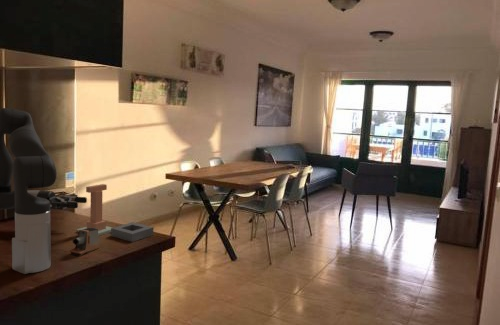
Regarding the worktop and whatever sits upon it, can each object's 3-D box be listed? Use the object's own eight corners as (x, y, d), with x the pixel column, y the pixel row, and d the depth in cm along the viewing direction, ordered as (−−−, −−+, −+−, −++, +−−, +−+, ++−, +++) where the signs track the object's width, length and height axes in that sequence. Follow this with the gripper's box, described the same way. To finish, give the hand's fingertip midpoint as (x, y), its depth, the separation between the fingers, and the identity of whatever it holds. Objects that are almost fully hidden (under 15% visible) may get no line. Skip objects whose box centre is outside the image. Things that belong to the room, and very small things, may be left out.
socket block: (132, 241, 150) (132, 233, 150) (110, 236, 155) (111, 228, 155) (153, 234, 160) (153, 227, 159) (132, 229, 165) (132, 222, 164)
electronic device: (69, 254, 134) (69, 232, 133) (89, 246, 143) (89, 225, 143) (80, 257, 133) (80, 234, 132) (99, 248, 142) (100, 227, 141)
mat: (94, 237, 153) (94, 234, 153) (76, 231, 158) (76, 229, 158) (115, 230, 162) (115, 228, 162) (97, 226, 166) (97, 223, 166)
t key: (92, 232, 155) (92, 188, 153) (83, 230, 157) (83, 186, 155) (108, 227, 162) (109, 185, 160) (99, 225, 164) (100, 183, 162)
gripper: (29, 194, 150) (74, 197, 151) (48, 187, 165) (89, 189, 165) (30, 214, 151) (74, 217, 152) (48, 205, 166) (89, 207, 166)
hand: (82, 202), depth 158 cm, fingers open, 8 cm apart
